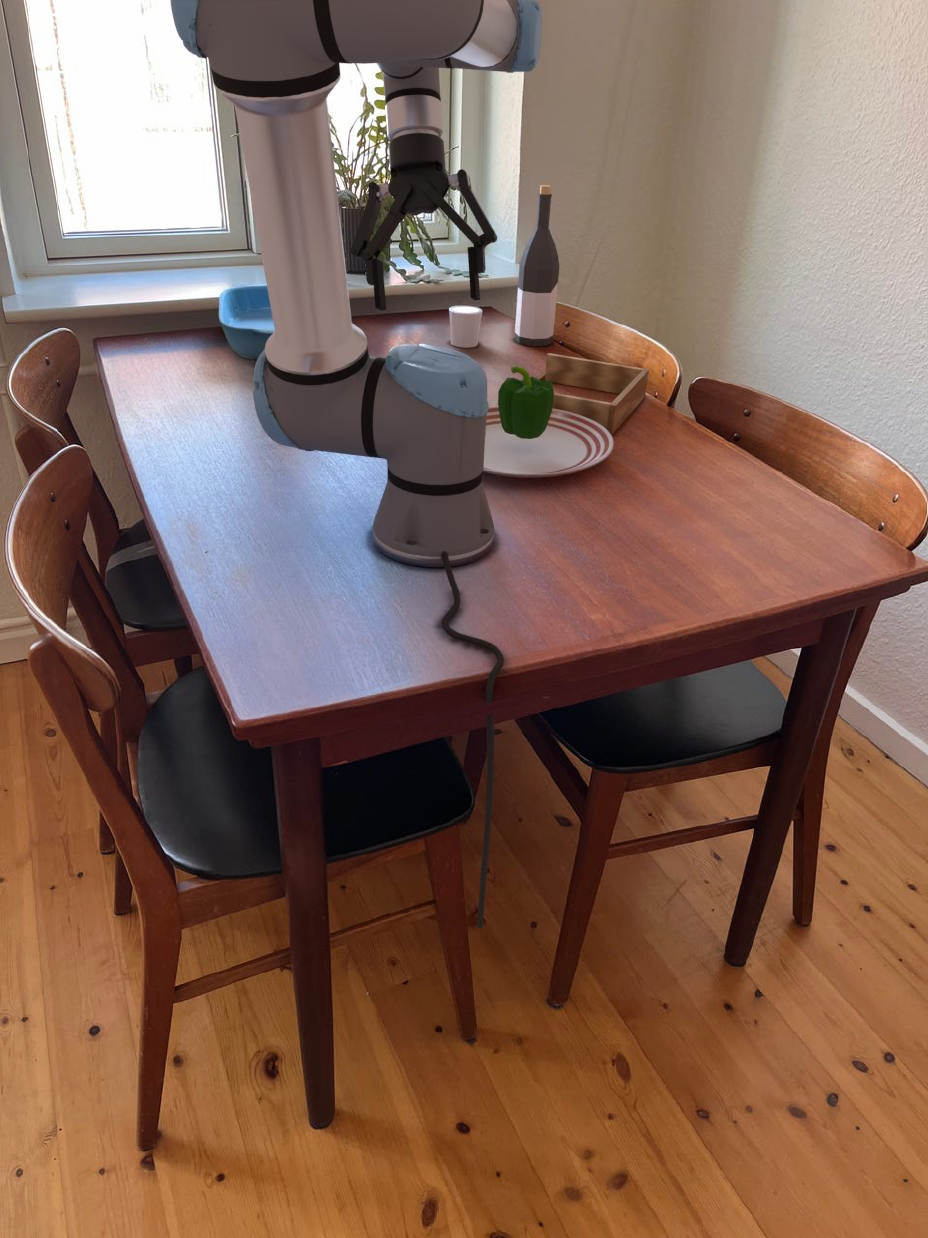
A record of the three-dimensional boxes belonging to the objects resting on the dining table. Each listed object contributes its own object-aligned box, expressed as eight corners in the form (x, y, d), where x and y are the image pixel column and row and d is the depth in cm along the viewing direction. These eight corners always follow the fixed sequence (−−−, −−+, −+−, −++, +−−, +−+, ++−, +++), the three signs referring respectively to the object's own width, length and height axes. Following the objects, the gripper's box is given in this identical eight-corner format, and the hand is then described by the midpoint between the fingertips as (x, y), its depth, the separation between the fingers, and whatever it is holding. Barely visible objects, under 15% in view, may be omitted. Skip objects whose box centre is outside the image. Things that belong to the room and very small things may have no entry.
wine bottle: (516, 334, 200) (526, 181, 184) (553, 337, 200) (567, 184, 184) (512, 344, 194) (523, 186, 178) (551, 347, 193) (565, 189, 177)
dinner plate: (519, 509, 126) (520, 486, 125) (395, 447, 144) (395, 426, 142) (648, 462, 142) (651, 442, 140) (523, 411, 159) (524, 392, 158)
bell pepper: (562, 434, 142) (569, 369, 136) (528, 448, 136) (534, 380, 131) (520, 419, 146) (525, 356, 141) (485, 432, 141) (489, 366, 136)
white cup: (487, 343, 194) (488, 308, 190) (469, 350, 189) (471, 315, 185) (459, 337, 197) (460, 303, 193) (441, 344, 192) (442, 309, 188)
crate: (497, 413, 158) (499, 384, 155) (541, 378, 175) (543, 352, 173) (611, 435, 152) (615, 405, 149) (645, 396, 169) (649, 369, 166)
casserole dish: (343, 365, 177) (342, 327, 173) (222, 368, 172) (218, 329, 168) (325, 315, 207) (323, 282, 203) (221, 317, 202) (218, 282, 199)
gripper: (511, 134, 126) (520, 298, 130) (338, 160, 132) (351, 316, 136) (501, 116, 119) (511, 290, 123) (318, 144, 125) (333, 309, 129)
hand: (427, 304), depth 129 cm, fingers open, 13 cm apart
